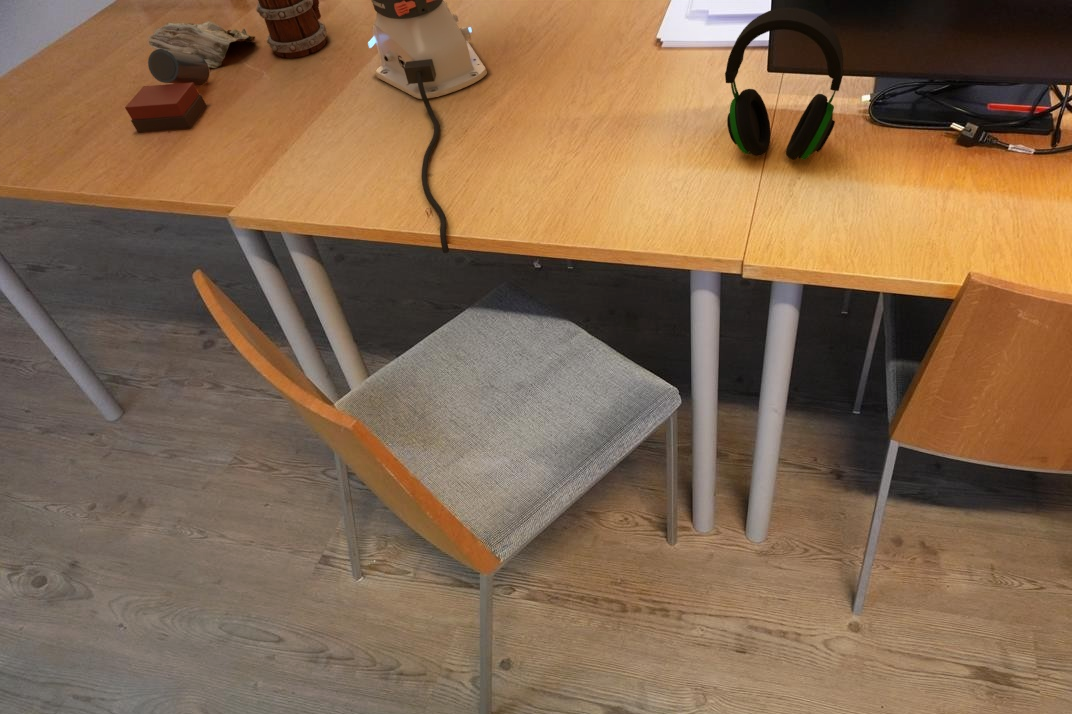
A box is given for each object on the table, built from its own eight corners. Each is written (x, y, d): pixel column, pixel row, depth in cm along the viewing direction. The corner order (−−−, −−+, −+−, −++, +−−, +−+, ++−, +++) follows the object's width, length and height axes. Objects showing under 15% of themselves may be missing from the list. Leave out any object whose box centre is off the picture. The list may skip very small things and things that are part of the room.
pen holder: (212, 84, 148) (181, 81, 138) (185, 87, 148) (152, 84, 139) (205, 53, 146) (173, 47, 136) (178, 55, 146) (144, 50, 137)
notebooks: (190, 128, 137) (176, 103, 133) (137, 132, 138) (122, 107, 134) (207, 106, 142) (194, 81, 139) (156, 109, 143) (142, 85, 140)
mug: (255, 57, 153) (230, -28, 144) (303, 38, 163) (283, -43, 154) (302, 62, 150) (279, -24, 140) (348, 43, 160) (330, -39, 150)
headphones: (826, 175, 109) (846, 32, 94) (717, 164, 114) (720, 26, 99) (835, 140, 115) (856, 0, 100) (731, 131, 119) (736, -5, 104)
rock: (225, 88, 153) (275, 46, 160) (210, 57, 147) (261, 14, 154) (139, 55, 159) (190, 15, 166) (121, 23, 153) (174, -16, 160)
